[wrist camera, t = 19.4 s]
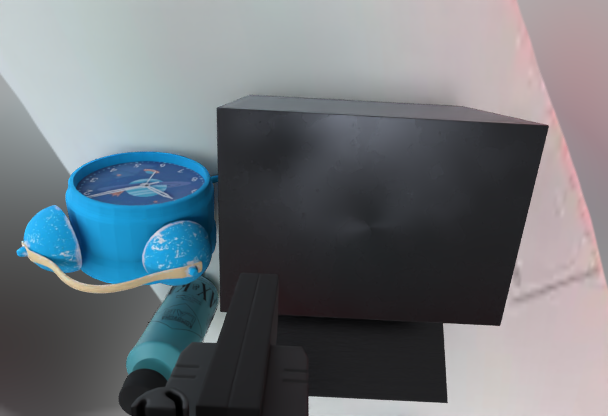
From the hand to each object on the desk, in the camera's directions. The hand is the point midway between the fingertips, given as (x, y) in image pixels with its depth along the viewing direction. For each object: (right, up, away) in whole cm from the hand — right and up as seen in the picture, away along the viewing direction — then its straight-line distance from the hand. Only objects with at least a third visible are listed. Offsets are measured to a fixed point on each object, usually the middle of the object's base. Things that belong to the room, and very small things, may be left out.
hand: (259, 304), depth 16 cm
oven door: (+7, -3, +38) cm, 39 cm away
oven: (+7, +8, +33) cm, 35 cm away
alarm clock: (-15, +6, +35) cm, 38 cm away
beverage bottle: (-13, -7, +39) cm, 42 cm away
